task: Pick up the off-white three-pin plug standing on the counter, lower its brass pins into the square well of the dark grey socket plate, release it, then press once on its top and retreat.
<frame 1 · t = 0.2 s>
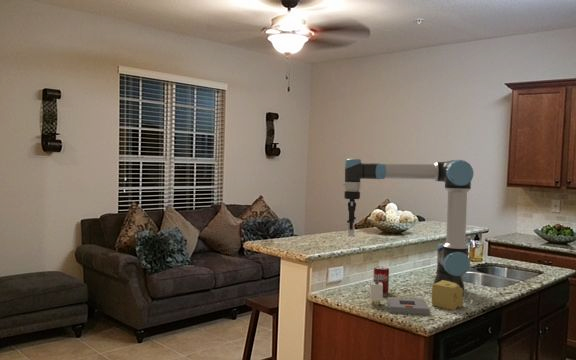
hand: (351, 234, 248), 28 cm above the table, fingers open, 13 cm apart
cheese: (446, 306, 226), on the table
plug: (376, 304, 226), on the table
soda can: (380, 292, 248), on the table
socket: (407, 308, 221), on the table
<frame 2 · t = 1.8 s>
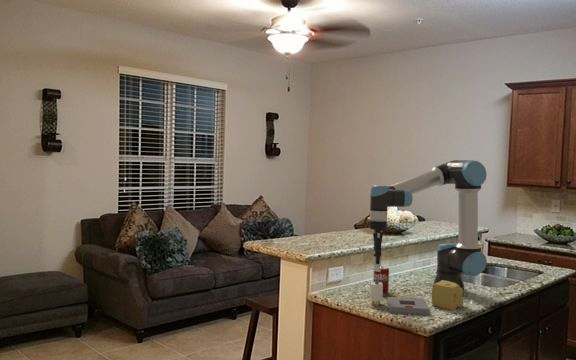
hand: (376, 268, 226), 16 cm above the table, fingers open, 13 cm apart
nothing on the table moved.
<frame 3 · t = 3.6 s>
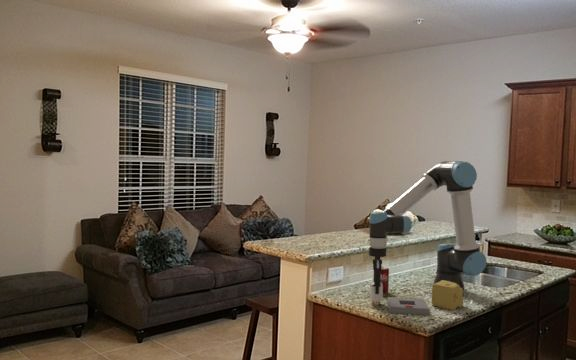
hand: (376, 299, 226), 2 cm above the table, fingers closed on plug, 5 cm apart
plug: (376, 304, 226), on the table, touching gripper
everything else where it was.
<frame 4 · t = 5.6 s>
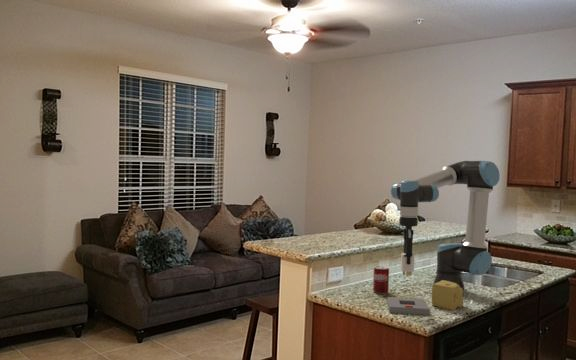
hand: (407, 270, 220), 17 cm above the table, fingers closed on plug, 5 cm apart
plug: (407, 275, 220), point 14 cm above the table, touching gripper
everything else where it was.
when the fingers open (4 cm above the table, at t = 7.7 s): plug stays where it is, resting on socket.
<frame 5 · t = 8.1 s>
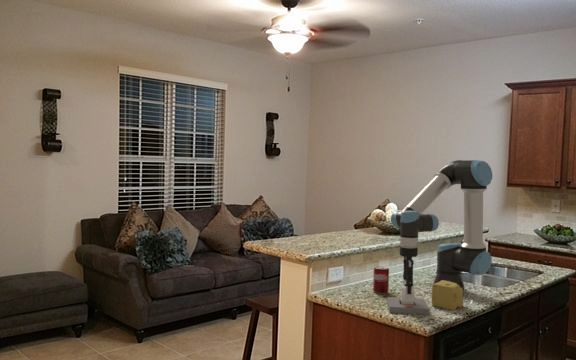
hand: (407, 298, 221), 4 cm above the table, fingers open, 10 cm apart
plug: (407, 307, 221), resting on socket
everything else where it was.
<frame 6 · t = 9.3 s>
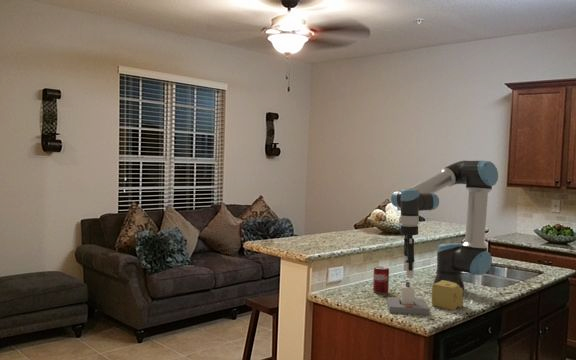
hand: (408, 274, 220), 15 cm above the table, fingers open, 13 cm apart
nothing on the table moved.
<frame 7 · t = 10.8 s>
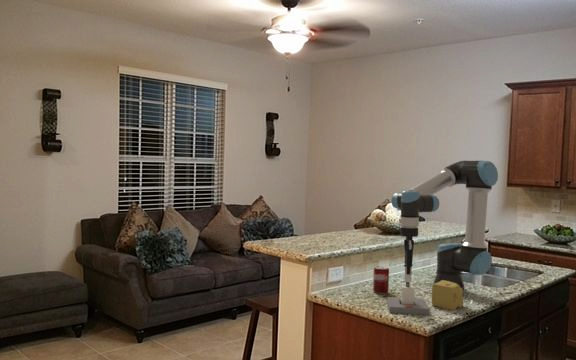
hand: (407, 281, 220), 12 cm above the table, fingers closed
nothing on the table moved.
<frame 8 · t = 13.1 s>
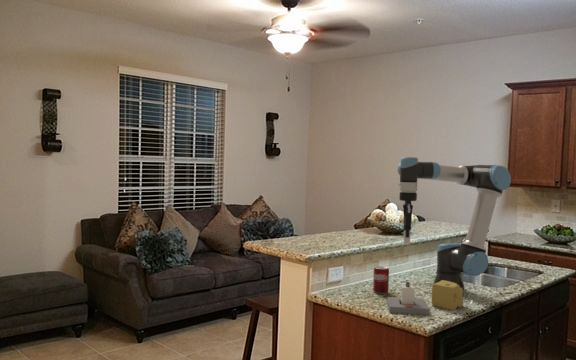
hand: (406, 244, 229), 26 cm above the table, fingers closed
nothing on the table moved.
at the end: plug 0.0 cm off-centre on the socket, point 0.3 cm above the socket's base; plug tilted 0°; the gripper is holding nothing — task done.
